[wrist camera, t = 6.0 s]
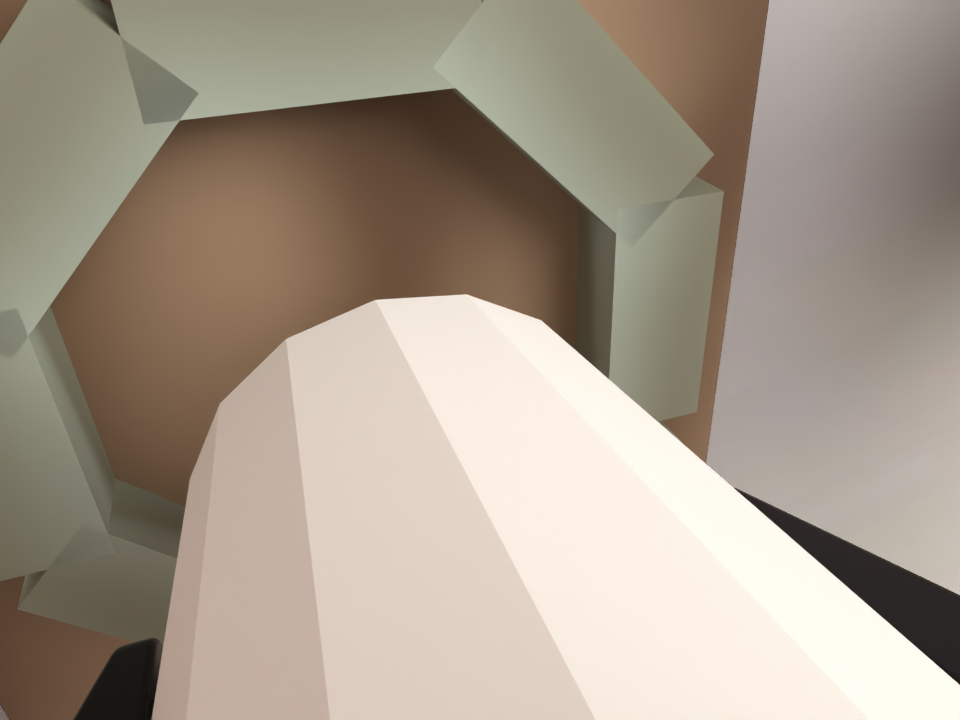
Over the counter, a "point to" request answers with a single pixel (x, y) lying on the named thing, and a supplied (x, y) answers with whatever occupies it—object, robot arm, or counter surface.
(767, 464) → the counter surface
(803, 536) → the robot arm
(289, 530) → the white cylinder
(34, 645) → the gear board
